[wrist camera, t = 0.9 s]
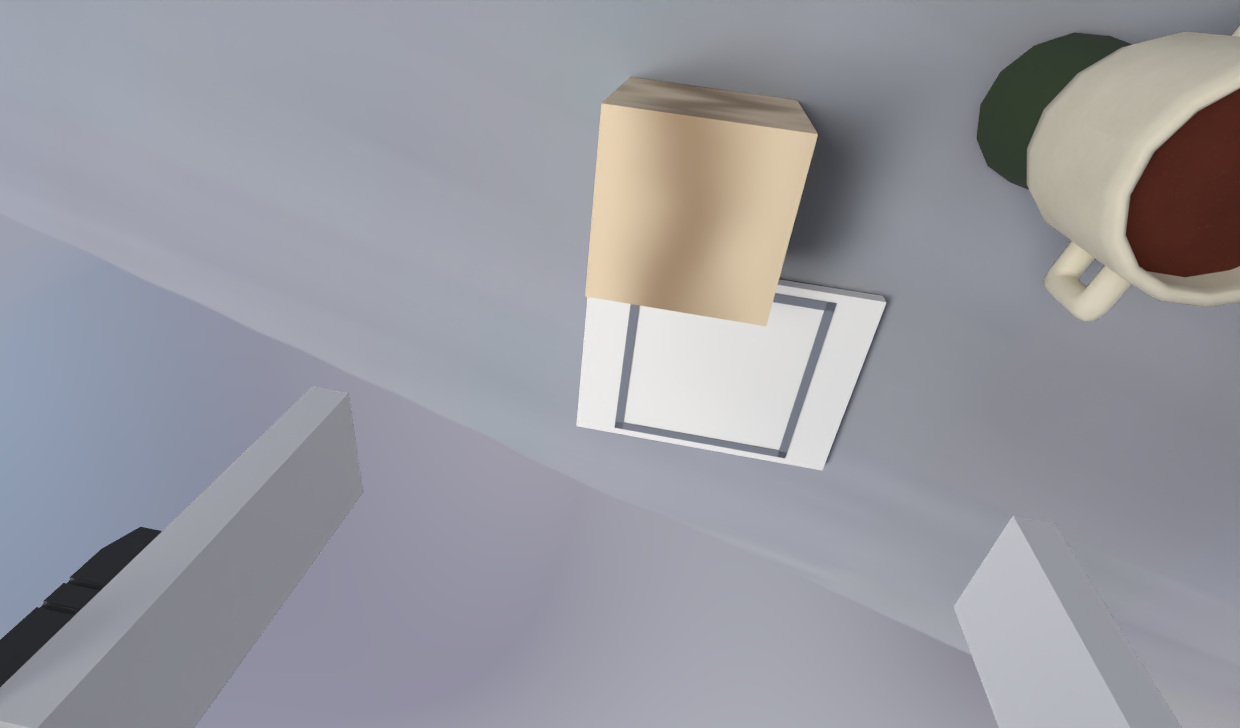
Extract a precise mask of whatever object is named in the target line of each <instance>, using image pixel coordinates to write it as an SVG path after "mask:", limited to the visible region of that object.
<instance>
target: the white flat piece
mask: <svg viewBox="0 0 1240 728" xmlns="http://www.w3.org/2000/svg"><path fill="white" fill-rule="evenodd" d="M886 303H887V302H886V300H885V298H884V296H881V295H874V294H868V293H862V292H856V291H849V290H843V289H837V288H831V287H824V286H818V285H812V284H806V283H799V282H793V281H787V280H781V279H779V281H778V285H777V288H776V292H775V296H774V299H773V303H772V307H771V311H770V314H769V318H768V322H767V325H766V326H761V325H755V324H749V323H743V322H737V321H730V320H724V319H718V318H712V317H706V316H700V315H694V314H688V313H682V312H676V311H670V310H664V309H658V308H652V307H646V306H640V305H634V304H628V303H622V302H616V301H610V300H604V299H598V298H591V297H588V299H587V311H586V322H585V334H584V345H583V357H582V368H581V380H580V391H579V402H578V414H577V425H576V426H579V427H585V428H590V429H596V430H602V431H607V432H613V433H618V434H624V435H629V436H635V437H640V438H646V439H651V440H657V441H662V442H668V443H673V444H679V445H684V446H690V447H695V448H701V449H706V450H712V451H717V452H723V453H729V454H734V455H740V456H745V457H751V458H756V459H762V460H767V461H773V462H778V463H784V464H789V465H795V466H800V467H806V468H811V469H817V470H823V467H824V465H825V462H826V460H827V457H828V454H829V452H830V449H831V446H832V444H833V441H834V439H835V436H836V433H837V431H838V428H839V426H840V423H841V420H842V418H843V415H844V412H845V410H846V407H847V405H848V402H849V399H850V397H851V394H852V392H853V389H854V386H855V384H856V381H857V378H858V376H859V373H860V371H861V368H862V365H863V363H864V360H865V358H866V355H867V352H868V350H869V347H870V344H871V342H872V339H873V337H874V334H875V331H876V329H877V326H878V324H879V321H880V318H881V316H882V313H883V310H884V308H885V305H886Z"/></svg>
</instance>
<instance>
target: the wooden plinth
mask: <svg viewBox="0 0 1240 728" xmlns="http://www.w3.org/2000/svg"><path fill="white" fill-rule="evenodd" d="M817 137H818V133H817V132H816V130H815V128H814V127H813V125H812V123H811V122H810V120H809V118H808V117H807V115H806V114H805V112H804V110H803V109H802V107H801V105H800V104H799V102H798V101H797V100H792V99H785V98H778V97H771V96H764V95H756V94H749V93H742V92H735V91H728V90H721V89H713V88H706V87H699V86H692V85H685V84H677V83H670V82H663V81H656V80H649V79H642V78H634V77H630V78H629V79H628V80H626V81H625V82H624V83H623V84H622V85H621V86H620V87H619V88H618V89H617V90H616V91H614V92H613V93H612V94H611V95H610V96H609V97H608V98H607V99H606V100H605V101H604V102H603V103H602V104H601V116H600V128H599V140H598V152H597V163H596V175H595V187H594V199H593V211H592V222H591V234H590V246H589V258H588V269H587V281H586V293H585V297H591V298H598V299H604V300H610V301H616V302H622V303H628V304H634V305H640V306H646V307H652V308H658V309H664V310H670V311H676V312H682V313H688V314H694V315H700V316H706V317H712V318H718V319H724V320H730V321H737V322H743V323H749V324H755V325H761V326H766V325H767V322H768V318H769V314H770V311H771V307H772V303H773V299H774V296H775V292H776V288H777V285H778V281H779V277H780V274H781V270H782V266H783V262H784V259H785V255H786V251H787V248H788V244H789V240H790V237H791V233H792V229H793V225H794V222H795V218H796V214H797V211H798V207H799V203H800V200H801V196H802V192H803V189H804V185H805V181H806V177H807V174H808V170H809V166H810V163H811V159H812V155H813V152H814V148H815V144H816V140H817Z"/></svg>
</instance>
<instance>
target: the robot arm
mask: <svg viewBox="0 0 1240 728" xmlns="http://www.w3.org/2000/svg"><path fill="white" fill-rule="evenodd" d="M362 494H363V485H362V479H361V472H360V465H359V459H358V452H357V446H356V438H355V432H354V425H353V418H352V411H351V405H350V398H349V393H346V392H341V391H335V390H330V389H325V388H319V387H314V386H313V387H311V389H309V390H308V391H307V392H306V393H305V394H304V395H303V396H302V397H301V398H300V399H299V400H298V401H297V402H296V403H295V404H294V405H293V406H292V407H291V408H290V409H289V410H287V411H286V412H285V413H284V414H283V415H282V416H281V417H280V418H279V419H278V420H277V421H276V422H275V423H274V424H273V425H272V426H271V427H270V428H269V429H268V430H267V431H266V432H265V433H264V434H263V435H262V436H261V437H260V438H258V439H257V441H255V442H254V443H253V444H252V445H251V446H250V447H249V448H248V449H247V450H246V451H245V452H244V453H243V454H242V455H241V456H240V457H239V458H238V459H237V460H236V461H235V462H234V463H233V464H231V465H230V466H229V467H228V469H226V470H225V471H224V472H223V473H222V474H221V475H220V476H219V477H218V478H217V479H216V480H215V481H214V482H213V483H212V484H211V485H210V486H209V487H208V488H207V489H206V490H205V491H203V492H202V494H200V495H199V496H198V497H197V498H196V499H195V500H194V501H193V502H192V503H191V504H190V505H189V506H188V507H187V508H186V509H185V510H184V511H183V512H182V513H181V514H180V515H179V516H178V517H177V518H176V519H175V520H173V521H172V522H171V523H170V524H169V525H168V526H167V527H166V528H165V529H164V530H163V531H158V530H153V529H148V528H144V527H140V528H138V529H136V530H134V531H132V532H131V533H129V534H127V535H125V536H124V537H122V538H120V539H118V540H116V541H115V542H113V543H111V544H109V545H108V546H106V547H104V548H102V549H101V550H100V551H99V552H98V553H97V554H96V555H94V556H93V557H92V558H91V559H90V560H89V561H88V562H86V563H85V564H84V565H83V566H82V567H81V568H80V569H79V570H78V571H77V572H75V573H74V574H73V575H72V576H71V577H70V581H69V582H68V583H66V584H65V583H63V584H62V585H61V586H60V587H59V588H58V589H56V590H55V591H54V592H53V593H52V594H51V595H50V596H49V597H48V598H46V599H45V600H44V603H43V605H42V606H41V607H40V608H38V607H36V608H35V609H34V610H33V611H32V612H31V613H30V614H29V615H27V616H26V618H24V619H23V620H22V621H21V622H20V623H19V624H18V625H16V626H15V627H14V628H13V629H12V630H11V631H10V632H9V633H7V634H6V635H5V636H4V637H3V638H2V639H1V640H0V728H195V727H196V725H197V724H198V722H199V721H200V720H201V718H202V717H203V716H204V714H205V713H206V711H207V710H208V708H209V707H210V706H211V704H212V703H213V702H214V700H215V699H216V697H217V696H218V695H219V693H220V692H221V690H222V689H223V688H224V686H225V685H226V683H227V682H228V680H229V679H230V678H231V676H232V675H233V674H234V672H235V671H236V669H237V668H238V667H239V665H240V664H241V662H242V661H243V659H244V658H245V657H246V655H247V654H248V653H249V651H250V650H251V648H252V647H253V646H254V644H255V643H256V642H257V640H258V639H259V637H260V636H261V635H262V633H263V632H264V630H265V629H266V628H267V626H268V625H269V623H270V622H271V620H272V619H273V618H274V616H275V615H276V614H277V612H278V611H279V609H280V608H281V607H282V605H283V603H284V602H285V601H286V600H287V598H288V597H289V595H290V594H291V593H292V591H293V590H294V588H295V587H296V586H297V584H298V583H299V582H300V580H301V579H302V577H303V576H304V575H305V573H306V572H307V570H308V569H309V568H310V566H311V565H312V563H313V562H314V561H315V559H316V558H317V556H318V555H319V554H320V552H321V551H322V549H323V548H324V547H325V545H326V544H327V542H328V541H329V540H330V538H331V537H332V536H333V534H334V533H335V531H336V530H337V529H338V527H339V526H340V524H341V523H342V521H343V520H344V519H345V517H346V516H347V515H348V513H349V512H350V510H351V509H352V508H353V506H354V505H355V503H356V502H357V500H358V499H359V498H360V496H361V495H362ZM954 609H955V612H956V615H957V617H958V620H959V623H960V625H961V628H962V631H963V633H964V636H965V639H966V641H967V644H968V647H969V649H970V652H971V655H972V657H973V660H974V663H975V665H976V668H977V671H978V673H979V676H980V678H981V681H982V684H983V687H984V689H985V692H986V695H987V697H988V700H989V703H990V705H991V708H992V710H993V713H994V716H995V719H996V721H997V724H998V727H999V728H1182V727H1181V725H1180V724H1179V722H1178V721H1177V719H1176V717H1175V716H1174V714H1173V712H1172V711H1171V709H1170V708H1169V706H1168V704H1167V703H1166V701H1165V700H1164V698H1163V696H1162V695H1161V693H1160V692H1159V690H1158V688H1157V687H1156V685H1155V684H1154V682H1153V680H1152V679H1151V677H1150V676H1149V674H1148V672H1147V671H1146V669H1145V668H1144V666H1143V664H1142V663H1141V661H1140V660H1139V658H1138V656H1137V655H1136V653H1135V652H1134V650H1133V648H1132V647H1131V645H1130V643H1129V642H1128V640H1127V639H1126V637H1125V635H1124V634H1123V632H1122V631H1121V629H1120V627H1119V626H1118V624H1117V623H1116V621H1115V619H1114V618H1113V616H1112V615H1111V613H1110V611H1109V610H1108V608H1107V607H1106V605H1105V603H1104V602H1103V600H1102V599H1101V597H1100V595H1099V594H1098V592H1097V591H1096V589H1095V587H1094V586H1093V584H1092V582H1091V581H1090V579H1089V578H1088V576H1087V574H1086V573H1085V571H1084V570H1083V568H1082V566H1081V565H1080V563H1079V562H1078V560H1077V558H1076V557H1075V555H1074V554H1073V552H1072V550H1071V549H1070V547H1069V546H1068V544H1067V542H1066V541H1065V539H1064V538H1063V536H1062V534H1061V533H1060V531H1059V530H1058V528H1057V526H1056V525H1055V523H1051V522H1046V521H1040V520H1035V519H1029V518H1024V517H1018V516H1012V518H1011V519H1010V521H1009V522H1008V524H1007V525H1006V527H1005V529H1004V530H1003V532H1002V533H1001V535H1000V536H999V538H998V539H997V541H996V542H995V544H994V545H993V547H992V549H991V550H990V552H989V553H988V555H987V556H986V558H985V559H984V561H983V562H982V564H981V565H980V567H979V568H978V570H977V572H976V573H975V575H974V576H973V578H972V579H971V581H970V582H969V584H968V585H967V587H966V588H965V590H964V592H963V593H962V595H961V596H960V598H959V599H958V601H957V602H956V604H955V605H954Z"/></svg>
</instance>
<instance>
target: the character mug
mask: <svg viewBox="0 0 1240 728" xmlns="http://www.w3.org/2000/svg"><path fill="white" fill-rule="evenodd" d="M977 140H978V143H979V145H980V148H981V150H982V153H983V155H984V158H985V160H986V162H987V165H988V166H989V167H990V168H992V169H993V170H994V171H996V172H997V173H999V174H1000V175H1001V176H1003V177H1004V178H1005V179H1007V180H1008V181H1010V182H1011V183H1014V184H1016V185H1019V186H1021V187H1024V188H1026V189H1029V190H1030V192H1031V194H1032V196H1033V198H1034V200H1035V202H1036V204H1037V206H1038V208H1039V210H1040V212H1041V214H1042V216H1043V218H1044V220H1045V222H1047V223H1048V224H1050V225H1051V226H1052V227H1054V228H1055V229H1056V230H1058V231H1059V232H1060V233H1062V234H1063V235H1064V236H1066V237H1067V238H1069V239H1070V240H1071V242H1070V243H1069V245H1068V246H1067V247H1066V249H1065V250H1064V251H1063V253H1062V254H1061V255H1060V256H1059V258H1058V259H1057V260H1056V262H1055V263H1054V264H1053V265H1052V267H1051V268H1050V269H1049V271H1048V273H1047V274H1046V276H1045V278H1044V280H1043V282H1044V285H1045V288H1046V289H1047V290H1048V292H1049V293H1050V294H1051V295H1052V296H1053V297H1054V298H1055V299H1056V300H1058V301H1059V302H1060V303H1061V304H1062V305H1063V306H1064V307H1065V308H1066V309H1067V310H1068V311H1069V312H1070V313H1071V314H1072V315H1073V316H1074V317H1075V318H1076V319H1079V320H1083V321H1094V320H1098V319H1099V318H1100V317H1102V316H1103V315H1104V314H1106V313H1107V312H1108V311H1109V310H1110V309H1111V307H1112V306H1113V305H1114V304H1115V303H1116V302H1117V301H1118V299H1119V298H1120V297H1121V296H1122V295H1123V294H1124V293H1125V291H1126V290H1127V289H1128V288H1129V287H1130V286H1131V285H1132V284H1133V285H1134V286H1136V287H1137V288H1139V289H1140V290H1142V291H1143V292H1145V293H1146V294H1148V295H1149V296H1151V297H1153V298H1155V299H1157V300H1159V301H1166V302H1173V303H1180V304H1187V305H1195V306H1202V307H1211V306H1218V305H1225V304H1231V303H1238V302H1240V25H1239V26H1238V28H1237V29H1236V30H1235V31H1234V33H1233V34H1232V35H1231V36H1228V35H1218V34H1207V33H1197V32H1186V31H1184V32H1180V33H1176V34H1172V35H1168V36H1164V37H1160V38H1156V39H1152V40H1148V41H1145V42H1141V43H1137V44H1133V45H1132V44H1129V43H1127V42H1124V41H1121V40H1119V39H1116V38H1113V37H1110V36H1102V35H1091V34H1081V33H1072V34H1069V35H1066V36H1063V37H1060V38H1057V39H1054V40H1051V41H1048V42H1044V43H1041V44H1038V45H1035V46H1033V47H1032V48H1031V49H1030V50H1028V51H1027V52H1026V53H1024V54H1023V55H1022V56H1021V57H1019V58H1018V59H1017V60H1015V61H1014V62H1013V63H1012V64H1010V65H1009V66H1008V67H1006V68H1005V69H1004V70H1003V71H1001V72H1000V74H999V75H998V77H997V79H996V80H995V82H994V84H993V85H992V87H991V89H990V90H989V92H988V94H987V95H986V97H985V99H984V100H983V102H982V103H981V106H980V114H979V123H978V131H977ZM1094 259H1097V260H1098V261H1100V262H1101V263H1102V264H1104V267H1103V268H1102V269H1101V270H1100V271H1099V273H1098V274H1097V275H1096V276H1095V277H1094V279H1093V280H1092V281H1091V282H1090V283H1089V285H1088V286H1087V287H1086V286H1085V285H1083V284H1082V283H1081V282H1080V281H1079V278H1080V276H1081V275H1082V274H1083V273H1084V271H1085V270H1086V269H1087V268H1088V266H1089V265H1090V264H1091V263H1092V262H1093V260H1094Z"/></svg>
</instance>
